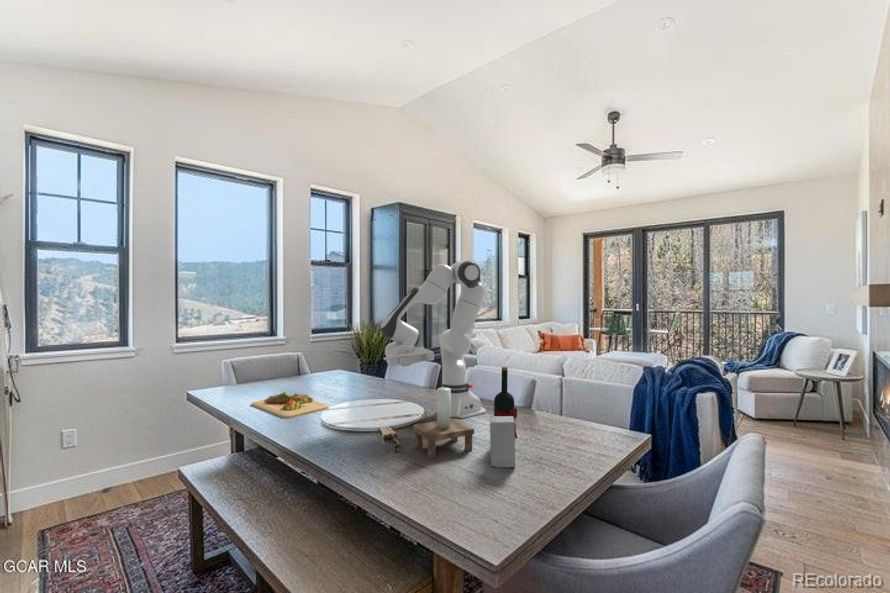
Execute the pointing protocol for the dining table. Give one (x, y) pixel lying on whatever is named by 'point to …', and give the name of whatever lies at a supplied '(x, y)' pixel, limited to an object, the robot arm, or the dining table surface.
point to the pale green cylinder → (443, 408)
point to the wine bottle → (505, 400)
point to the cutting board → (290, 405)
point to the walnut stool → (442, 434)
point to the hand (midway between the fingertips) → (418, 360)
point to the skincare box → (502, 441)
